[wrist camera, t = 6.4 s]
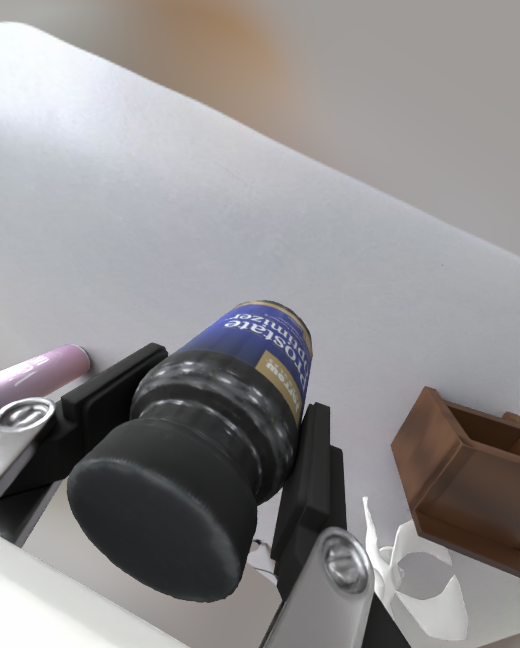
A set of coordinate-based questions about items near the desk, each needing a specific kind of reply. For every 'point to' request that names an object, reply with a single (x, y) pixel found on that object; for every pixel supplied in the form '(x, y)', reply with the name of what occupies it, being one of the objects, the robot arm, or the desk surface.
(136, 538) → the pill bottle
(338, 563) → the robot arm
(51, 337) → the desk surface
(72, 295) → the desk surface
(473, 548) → the shelf
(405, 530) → the figurine
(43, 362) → the beverage can
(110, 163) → the desk surface
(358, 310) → the desk surface
